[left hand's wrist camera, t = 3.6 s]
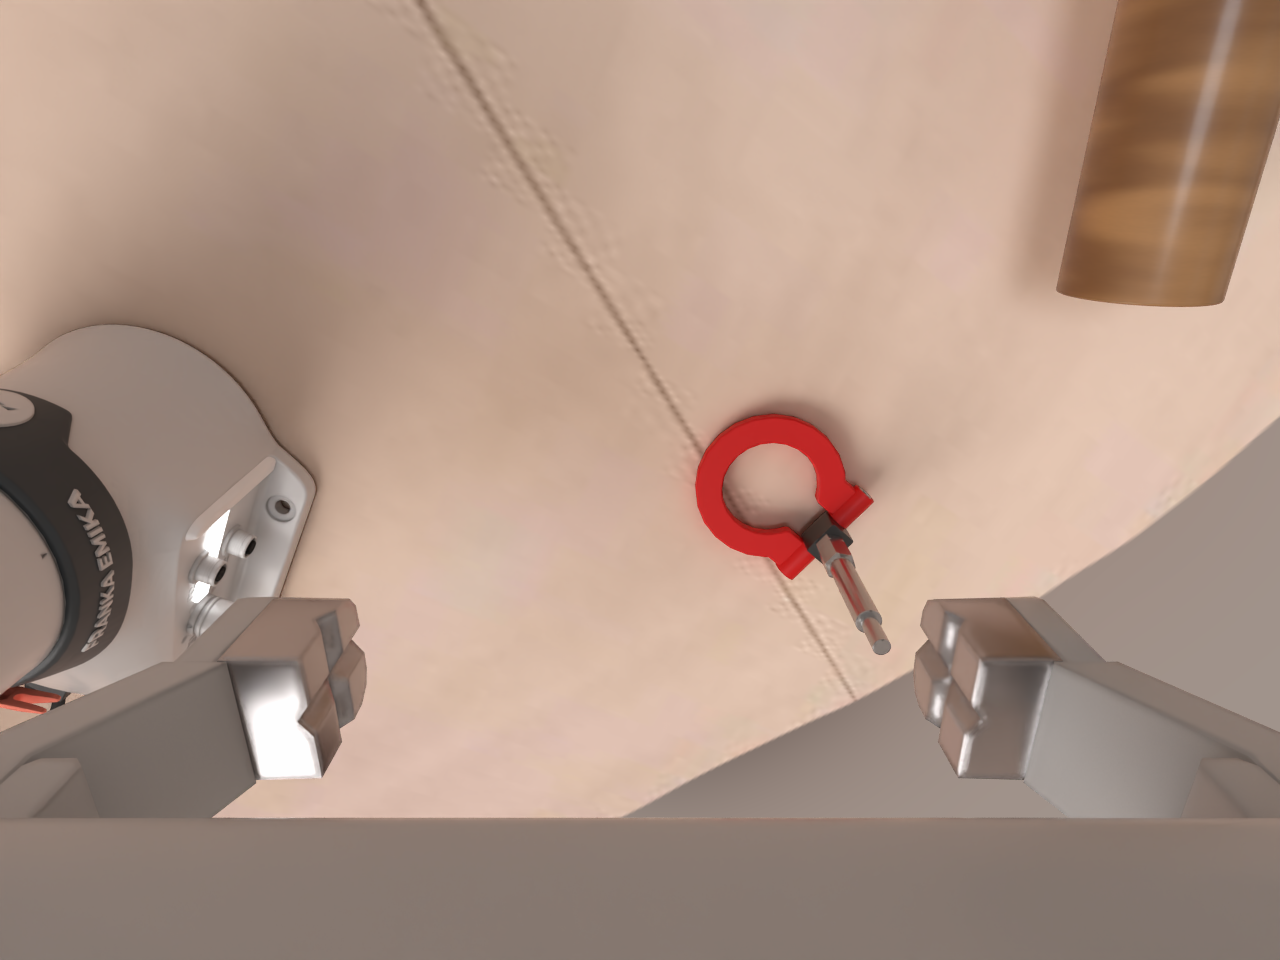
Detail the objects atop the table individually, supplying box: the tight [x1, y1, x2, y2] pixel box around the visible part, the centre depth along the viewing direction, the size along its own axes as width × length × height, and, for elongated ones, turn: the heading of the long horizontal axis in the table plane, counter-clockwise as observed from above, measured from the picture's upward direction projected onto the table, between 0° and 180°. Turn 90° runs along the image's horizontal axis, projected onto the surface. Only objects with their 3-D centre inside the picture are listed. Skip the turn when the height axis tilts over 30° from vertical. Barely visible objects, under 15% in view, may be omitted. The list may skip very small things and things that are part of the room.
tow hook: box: [695, 414, 891, 655], centre depth 36 cm, size 8×13×9 cm
